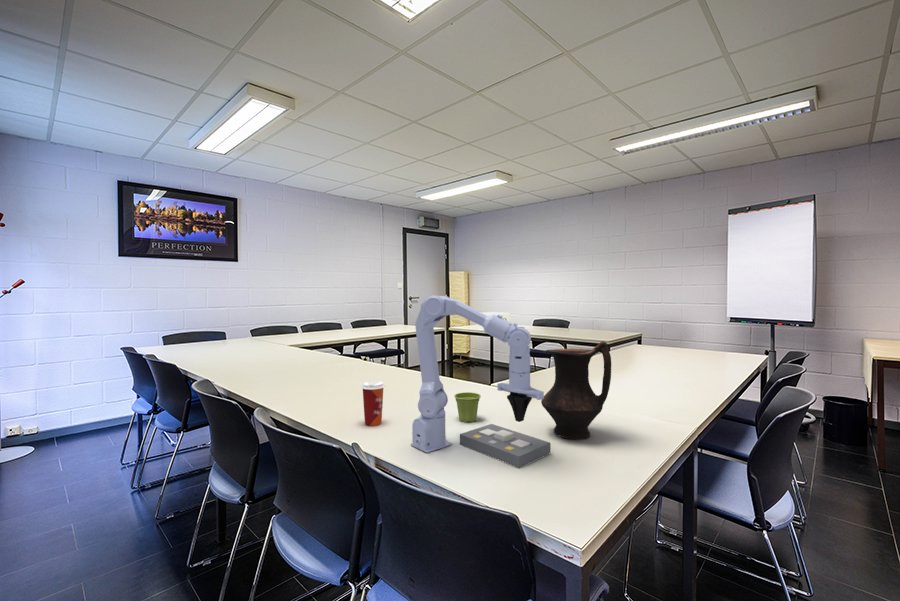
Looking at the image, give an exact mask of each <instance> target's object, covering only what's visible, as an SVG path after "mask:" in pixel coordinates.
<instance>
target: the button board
mask: <svg viewBox="0 0 900 601" xmlns="http://www.w3.org/2000/svg"><path fill="white" fill-rule="evenodd" d="M486 429H490V430H493V431H496V432H498V431H501V430H505V431H508V432H511V433H514V439H513V440H510V441H508V442H505V443H504V442H501V441H499V440H496V439H494V435H493V436H490V437H487V436H485V435H482V434H479V432H480V431H483V430H486ZM519 439H520V440H523V441H526V442H529V443H531V445H530V446H528V447H525V448H523V449H521V448H518V447H516V446H513V445H510V443H511V442H514V441H516V440H519ZM459 445H461V446H463V447H465V448H468V449H471V450H473V451H475V450H476V452H478V453H480V452H481V454H482V455H485V454H486V455H485V456H488V455H489V456H488V457H490V456H491V458H493V457H494V458H493V459H495V458H496V459H495V460H497V459H499V460H498V461H500V460H501V461H500V462H502V461H504V462H503V463H505V462H506V463H505V464H507V463H508V465H511V466H512V467H514V468H517V467H518V468H517V469H520V467H521V468H522V466H523V467H524V466H527V465H529V464H531V463H533V462H535V461H537V459H538V460H540V459H542V458H544V457H546V456H548V455H550V454H552V453H551V452H552V450H551V442H549V441H547V440H543V439H540V438H537V437H534V436H531V435H529V434H528V435H527V434H525V433H521V432H519V431H515V430H512V429H510V428H506V427H503V426H500V425H496V424H493V423H490V424H487V425H486V424H485V425H483V426H480V427H478V428H474V429H471V430H468V431H465V432H462V433H459ZM549 453H550V454H549ZM547 454H548V455H547ZM543 456H544V457H543ZM541 457H542V458H541ZM539 458H540V459H539Z"/></svg>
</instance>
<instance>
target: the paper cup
mask: <svg viewBox="0 0 900 601" xmlns="http://www.w3.org/2000/svg"><path fill="white" fill-rule="evenodd" d="M361 388H362V398H363V414H364V425H365V426H368V427H375V426H376V427H377V426H380V425H381V424H382V419H383V402H384V388H385V385H384V382H383V381H379V380H377V381H375V380H373V381H371V380H370V381H366V382H363V384H362V386H361Z"/></svg>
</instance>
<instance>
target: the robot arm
mask: <svg viewBox="0 0 900 601" xmlns="http://www.w3.org/2000/svg"><path fill="white" fill-rule="evenodd" d="M447 316H460V317H462V318H464V319H466V320H468V321H471V322H472V323H475V324H477V325H478V326H481V327H482V328H483V331H484V333H485V334H488V335H490V336H491V337H494V338H495V339H497V340H499V341H500V342H503V343H507V344H508V347H509V355H508V356H509V357H508V358H509V360H508V366H509V367H508V370H509V372H508V383H505V382H499V383H497V385H496V386H497V391H503V392H508V393H509V394H508V395H506V399H507V401H508V402H509V404H510V406H511V408H512V412H513V416H514V420H515V422H519V423H520V422H523V421H524V420H525V417H526V416H525V415H526V412H527V409H528V407H529V404H530V402H531V401H532V399H536V400H538V401H540V400H542V399H544V396H545V392H544V391H542V390H540V389H536V388H534V387H532V386H531V354H530V353H531V352H530V351H531V349H530V343H531V341H532V335H531V332H530V331H529V330H528V329H526V327H525V326H519V324H518V323H516V322H514V323H512V322H510V321H508V320H506V319H504V318H503V317H504V316H503V315H501V314H497V315H496V314H490V315H486V314H484V313H483V312H480V311H479V310H477V309H475V308H473V307H471V306H470V305H467V304H466V303H464V302H463V301H460V300H458V299H455V298H451V297H449V296H447V295H436V294H434V295H430V296H428V297H426V299H425V300H424V301H423V302H421V303H420V310H419V312H418V315H417V317H416V320H415V325H414V326H415V334H416V341H417V352H418V358H419V367H420V375H421V376H420V377H421V386H420V389H419V400H418V402H417V408H418V412H419V413H420V416H419V417H416V418H415V419H413V421H412V426H411V427H412V429H411V430H412V433H411V435H412V440H411V441H412V443H410V446H412V447H414V448H416V449H419V450H421V451H422V452H425V453H427V454H429V453H430V452H433V451H437V450H439V449H442V448H446V447H449V446H451V445H452V444H453V442H451V441H448V440H446V411H445V407H447V405H448V401H449V398H448V394H447V393H446V390H445V389H444V388H445V387H444V384H443V383H442V380H440V379H441V378H440V373H439V371H440V370H439V362H438V355H437V348H436V339H435V338H436V337H435V332H434V331H435V330H434V327H436V326H437V325H438V323H439V322H440V321H441V320H443V319H444V318H445V317H447Z"/></svg>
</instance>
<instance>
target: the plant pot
mask: <svg viewBox="0 0 900 601" xmlns="http://www.w3.org/2000/svg"><path fill="white" fill-rule="evenodd" d="M453 397H454V398H455V402H456V406H457V407H456V408H457V412H458V419H459V421H460V422H463V423H467V422H471V423H472V422H475V421H476V420H477V417H478V409H479V401H480V399H481V397H482V396H481V394H479V393H476V392H472V391H471V392H468V391H467V392H458V393H456V394H454V396H453Z"/></svg>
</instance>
